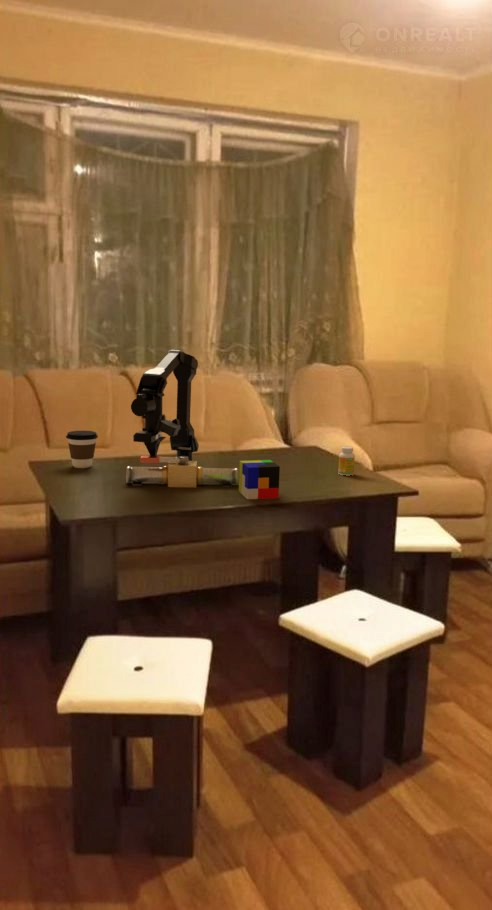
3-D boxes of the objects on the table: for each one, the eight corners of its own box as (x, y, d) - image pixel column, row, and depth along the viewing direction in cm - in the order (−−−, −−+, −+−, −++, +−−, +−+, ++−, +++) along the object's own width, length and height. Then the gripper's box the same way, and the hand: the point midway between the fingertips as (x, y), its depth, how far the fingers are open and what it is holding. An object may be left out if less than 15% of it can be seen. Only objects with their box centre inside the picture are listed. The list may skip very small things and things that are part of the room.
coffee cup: (91, 470, 275) (91, 436, 272) (61, 468, 276) (61, 434, 274) (102, 464, 285) (102, 431, 283) (73, 462, 287) (72, 429, 285)
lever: (188, 461, 259) (188, 456, 258) (188, 463, 255) (188, 458, 255) (141, 460, 258) (141, 455, 257) (140, 462, 254) (140, 457, 254)
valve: (127, 480, 261) (127, 458, 260) (237, 482, 263) (237, 460, 262) (125, 486, 253) (125, 464, 252) (238, 488, 255) (238, 466, 254)
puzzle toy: (247, 499, 242) (248, 467, 240) (238, 491, 251) (239, 460, 249) (278, 498, 245) (279, 466, 243) (269, 490, 254) (270, 459, 252)
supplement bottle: (346, 476, 276) (347, 449, 274) (335, 473, 280) (336, 446, 279) (356, 475, 280) (358, 447, 278) (345, 472, 284) (347, 445, 282)
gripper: (165, 417, 245) (165, 467, 248) (187, 409, 262) (187, 455, 265) (132, 415, 248) (132, 464, 251) (156, 407, 265) (156, 452, 269)
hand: (153, 459), depth 259 cm, fingers closed
